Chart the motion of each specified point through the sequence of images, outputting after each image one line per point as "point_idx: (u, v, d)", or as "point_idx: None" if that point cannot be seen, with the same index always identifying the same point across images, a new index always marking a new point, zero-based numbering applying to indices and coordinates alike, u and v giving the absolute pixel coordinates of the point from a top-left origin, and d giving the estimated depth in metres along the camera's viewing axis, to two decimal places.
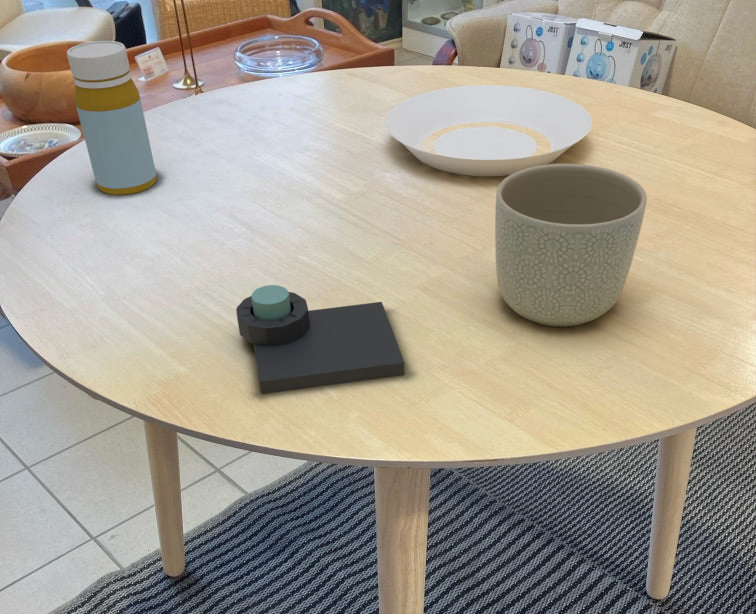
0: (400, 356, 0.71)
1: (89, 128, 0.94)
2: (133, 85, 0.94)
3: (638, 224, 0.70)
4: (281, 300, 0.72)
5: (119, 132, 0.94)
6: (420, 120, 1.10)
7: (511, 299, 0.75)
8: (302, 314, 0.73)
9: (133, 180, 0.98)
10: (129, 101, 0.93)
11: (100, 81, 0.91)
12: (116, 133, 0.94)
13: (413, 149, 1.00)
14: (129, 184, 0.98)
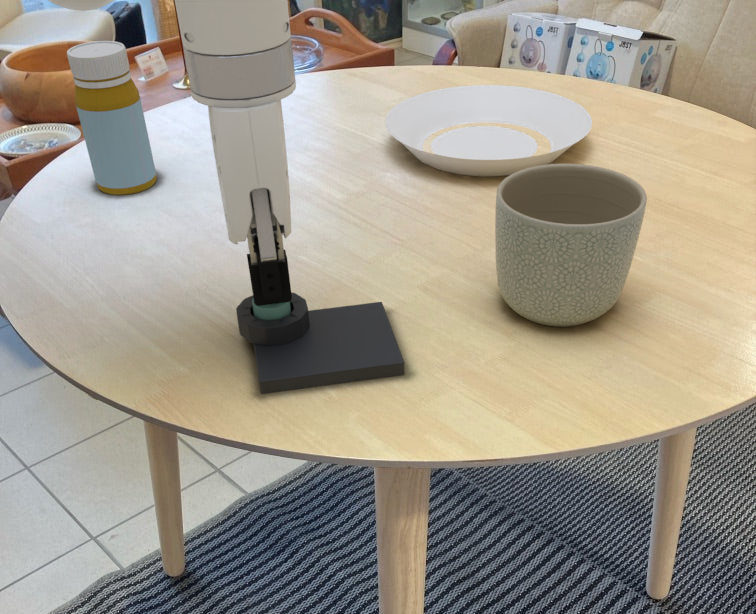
0: (400, 356, 0.71)
1: (89, 128, 0.94)
2: (133, 85, 0.94)
3: (638, 224, 0.70)
4: (281, 305, 0.72)
5: (119, 132, 0.94)
6: (420, 120, 1.10)
7: (511, 299, 0.75)
8: (302, 314, 0.73)
9: (133, 180, 0.98)
10: (129, 101, 0.93)
11: (100, 81, 0.91)
12: (116, 133, 0.94)
13: (413, 149, 1.00)
14: (129, 184, 0.98)
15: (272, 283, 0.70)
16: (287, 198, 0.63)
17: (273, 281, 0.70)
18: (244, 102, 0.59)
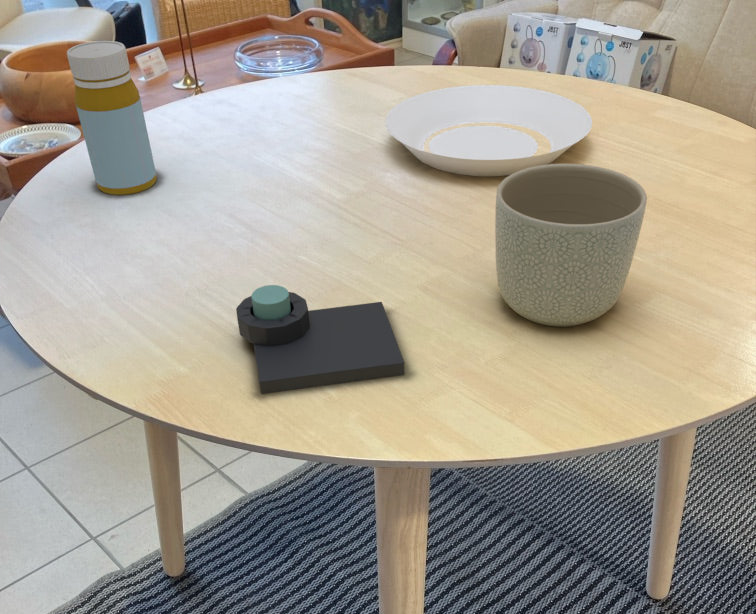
0: (400, 356, 0.71)
1: (89, 128, 0.94)
2: (133, 85, 0.94)
3: (638, 224, 0.70)
4: (281, 300, 0.72)
5: (119, 132, 0.94)
6: (420, 120, 1.10)
7: (511, 299, 0.75)
8: (302, 314, 0.73)
9: (133, 180, 0.98)
10: (129, 101, 0.93)
11: (100, 81, 0.91)
12: (116, 133, 0.94)
13: (413, 149, 1.00)
14: (129, 184, 0.98)
15: None
16: None
17: None
18: None
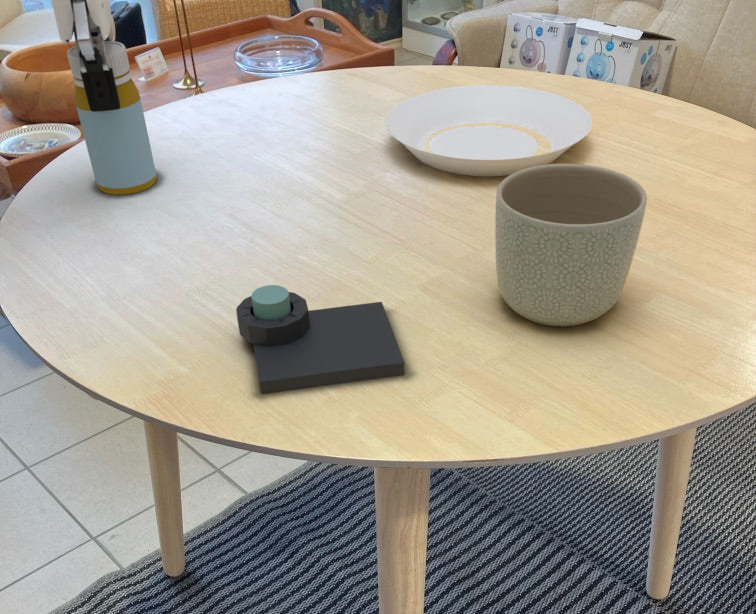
0: (400, 356, 0.71)
1: (89, 128, 0.94)
2: (133, 85, 0.94)
3: (638, 224, 0.70)
4: (281, 300, 0.72)
5: (119, 131, 0.94)
6: (420, 120, 1.10)
7: (511, 299, 0.75)
8: (302, 314, 0.73)
9: (133, 180, 0.98)
10: (129, 101, 0.93)
11: None
12: (117, 133, 0.94)
13: (413, 149, 1.00)
14: (129, 184, 0.98)
15: (101, 90, 0.90)
16: (100, 4, 0.85)
17: (101, 88, 0.90)
18: None
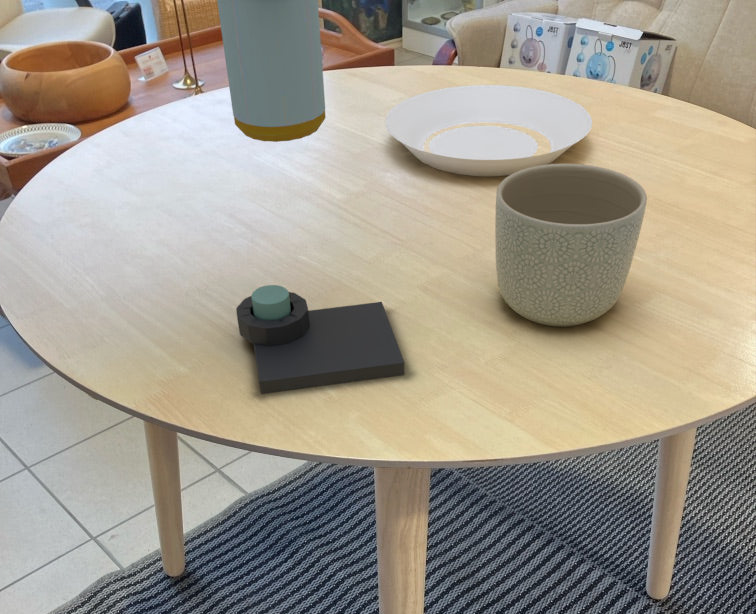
0: (400, 356, 0.71)
1: (238, 25, 0.58)
2: None
3: (638, 224, 0.70)
4: (281, 300, 0.72)
5: (287, 31, 0.59)
6: (420, 120, 1.10)
7: (511, 299, 0.75)
8: (302, 314, 0.73)
9: (298, 114, 0.62)
10: None
11: None
12: (282, 33, 0.59)
13: (413, 149, 1.00)
14: (291, 120, 0.62)
15: None
16: None
17: None
18: None
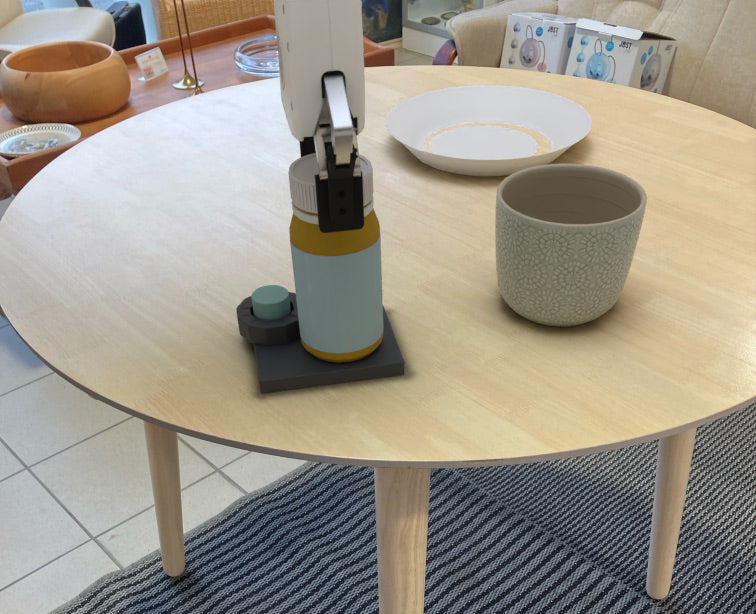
0: (400, 356, 0.71)
1: (311, 276, 0.65)
2: (375, 214, 0.65)
3: (638, 224, 0.70)
4: (281, 300, 0.72)
5: (354, 281, 0.65)
6: (420, 120, 1.10)
7: (511, 299, 0.75)
8: None
9: (360, 342, 0.69)
10: (372, 239, 0.64)
11: None
12: (350, 283, 0.65)
13: (413, 149, 1.00)
14: (354, 348, 0.69)
15: (343, 204, 0.58)
16: (363, 85, 0.55)
17: (345, 201, 0.58)
18: None
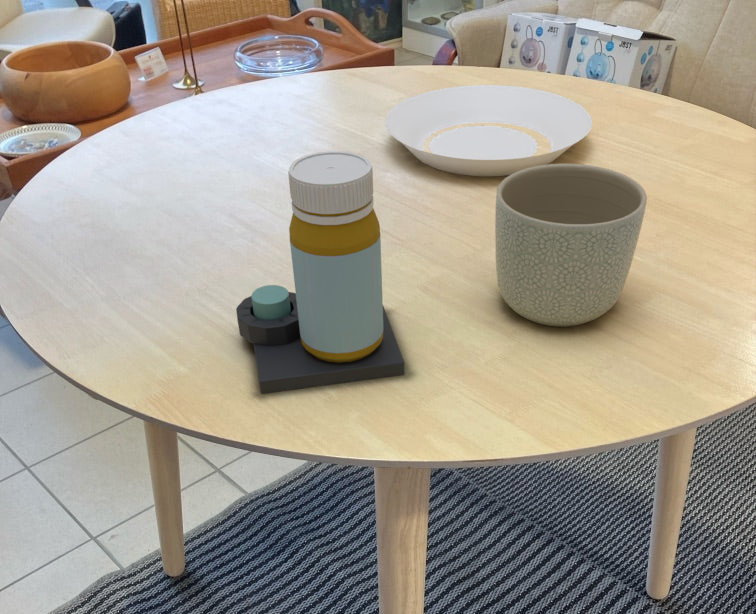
0: (400, 356, 0.71)
1: (310, 276, 0.65)
2: (375, 214, 0.65)
3: (638, 224, 0.70)
4: (281, 300, 0.72)
5: (354, 281, 0.65)
6: (420, 120, 1.10)
7: (511, 299, 0.75)
8: None
9: (360, 342, 0.69)
10: (372, 239, 0.64)
11: (338, 215, 0.62)
12: (350, 283, 0.65)
13: (413, 149, 1.00)
14: (354, 348, 0.69)
15: None
16: None
17: None
18: None
